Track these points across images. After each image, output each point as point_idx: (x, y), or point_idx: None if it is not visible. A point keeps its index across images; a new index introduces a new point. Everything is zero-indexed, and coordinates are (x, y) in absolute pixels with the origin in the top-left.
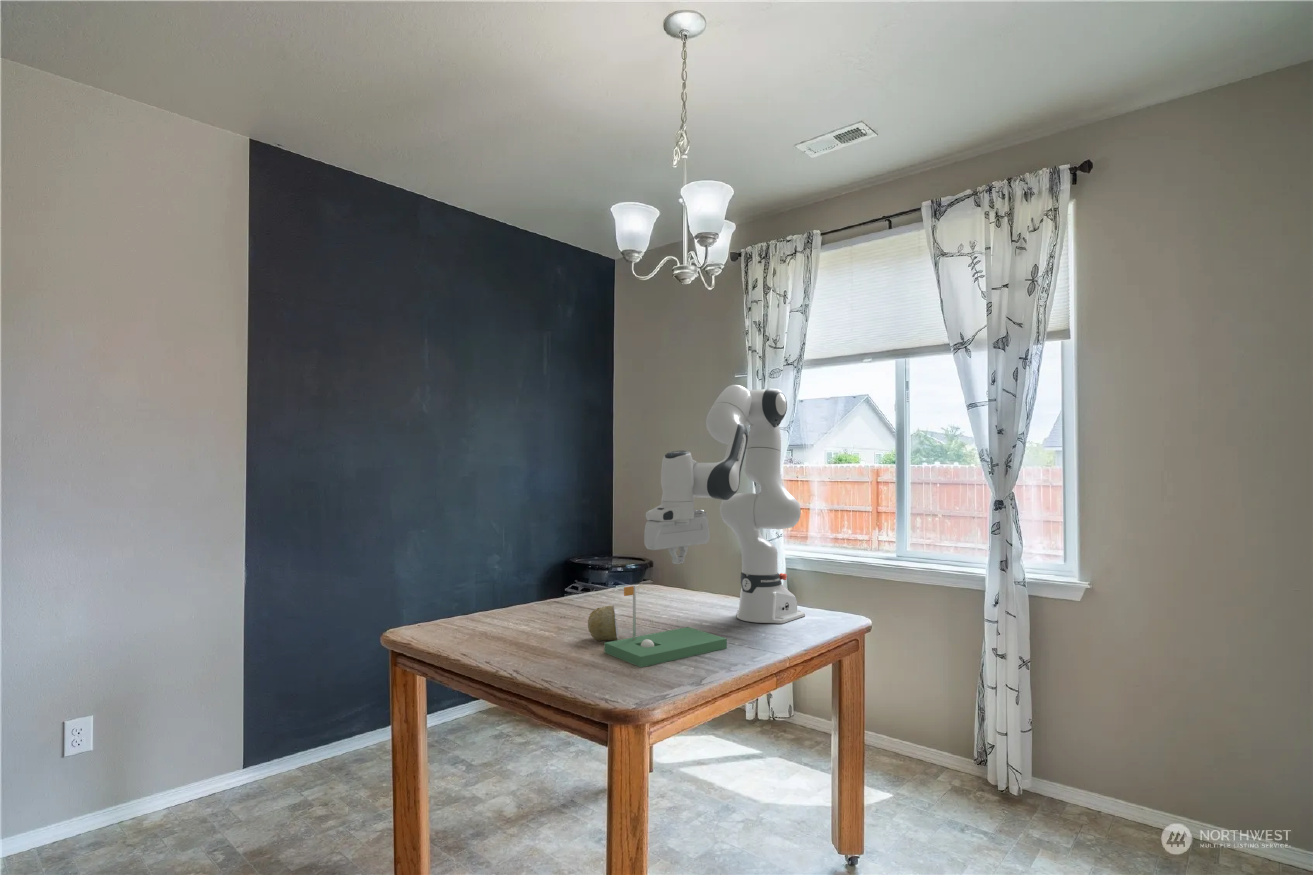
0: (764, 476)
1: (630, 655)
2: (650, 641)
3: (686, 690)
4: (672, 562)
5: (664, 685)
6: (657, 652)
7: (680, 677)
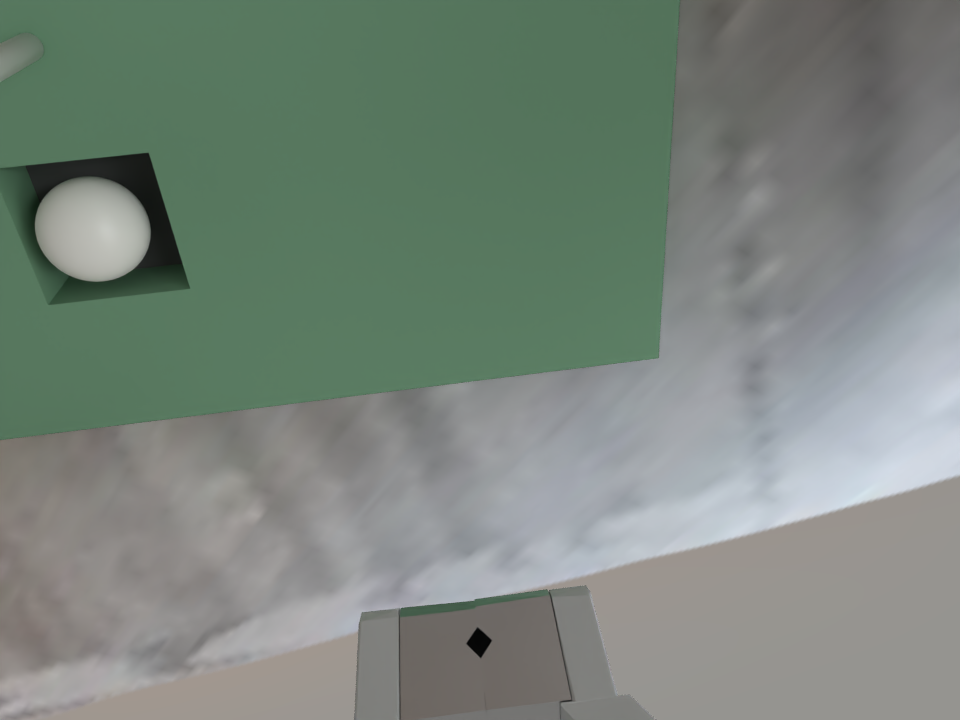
0: None
1: None
2: (98, 273)
3: (91, 694)
4: (361, 624)
5: (20, 633)
6: (91, 415)
7: (134, 586)
